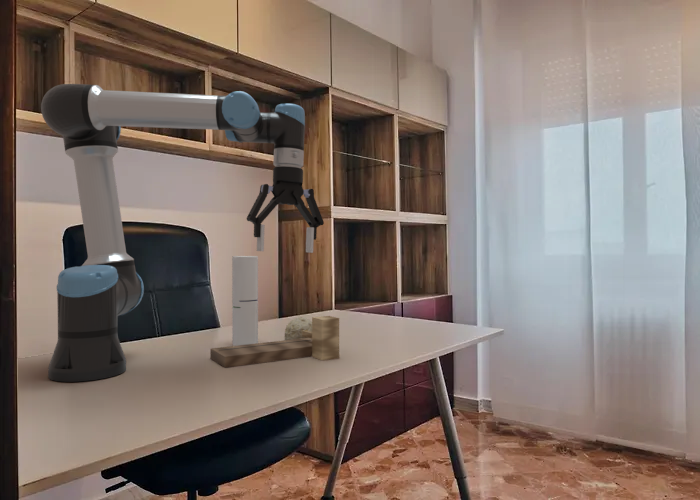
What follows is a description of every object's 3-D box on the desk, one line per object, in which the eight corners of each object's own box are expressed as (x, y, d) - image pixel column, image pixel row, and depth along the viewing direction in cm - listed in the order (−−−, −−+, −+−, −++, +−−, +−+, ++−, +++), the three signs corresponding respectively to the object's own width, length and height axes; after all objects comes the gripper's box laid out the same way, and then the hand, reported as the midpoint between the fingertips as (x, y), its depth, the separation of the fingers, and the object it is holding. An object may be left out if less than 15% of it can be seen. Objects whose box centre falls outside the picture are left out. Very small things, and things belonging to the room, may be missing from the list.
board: (225, 367, 116) (225, 356, 116) (210, 358, 125) (210, 348, 125) (336, 352, 132) (336, 342, 132) (316, 345, 141) (316, 336, 141)
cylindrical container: (255, 346, 140) (255, 256, 140) (229, 346, 140) (229, 256, 140) (260, 341, 147) (260, 256, 147) (235, 341, 147) (235, 256, 147)
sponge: (317, 356, 146) (320, 325, 152) (312, 342, 138) (316, 310, 144) (285, 355, 147) (290, 324, 153) (279, 341, 139) (284, 309, 145)
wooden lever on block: (321, 360, 123) (321, 319, 123) (296, 350, 135) (296, 313, 135) (339, 358, 126) (339, 318, 126) (312, 348, 138) (312, 311, 137)
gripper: (246, 159, 117) (243, 250, 117) (338, 171, 130) (335, 253, 130) (235, 163, 123) (232, 250, 123) (324, 174, 136) (321, 252, 137)
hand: (285, 252), depth 127 cm, fingers open, 13 cm apart
